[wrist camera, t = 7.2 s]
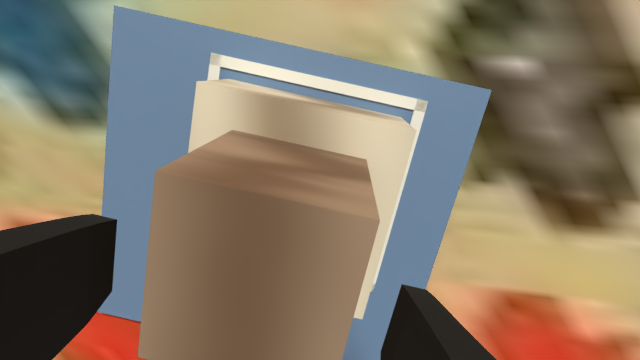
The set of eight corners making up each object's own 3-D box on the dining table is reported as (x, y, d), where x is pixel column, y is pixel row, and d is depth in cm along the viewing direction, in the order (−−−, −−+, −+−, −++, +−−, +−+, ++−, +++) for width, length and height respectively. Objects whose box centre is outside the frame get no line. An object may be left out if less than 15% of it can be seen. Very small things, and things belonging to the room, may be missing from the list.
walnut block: (366, 159, 14) (380, 220, 8) (336, 278, 16) (330, 400, 10) (232, 129, 14) (155, 170, 8) (214, 251, 16) (137, 357, 10)
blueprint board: (486, 89, 18) (492, 90, 17) (394, 371, 22) (395, 380, 21) (121, 7, 18) (112, 5, 17) (102, 305, 22) (95, 312, 22)
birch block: (401, 117, 18) (416, 130, 14) (359, 271, 20) (362, 319, 16) (229, 78, 18) (196, 81, 14) (206, 236, 20) (173, 276, 16)
